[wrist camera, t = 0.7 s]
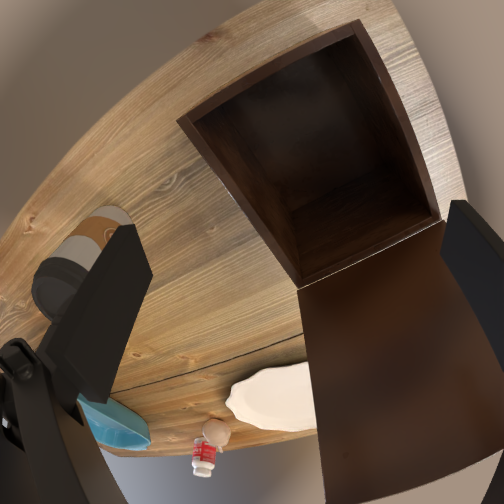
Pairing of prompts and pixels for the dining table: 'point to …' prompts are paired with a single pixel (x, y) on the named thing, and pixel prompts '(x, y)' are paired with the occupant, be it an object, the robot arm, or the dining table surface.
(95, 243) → the coffee cup
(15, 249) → the dining table surface
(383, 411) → the lid
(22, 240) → the dining table surface
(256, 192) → the chest
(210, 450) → the pill bottle
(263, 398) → the plate
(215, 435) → the garlic bulb
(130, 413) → the casserole dish
